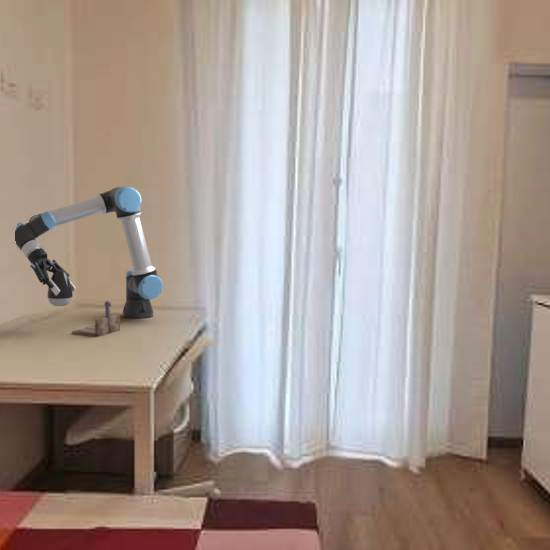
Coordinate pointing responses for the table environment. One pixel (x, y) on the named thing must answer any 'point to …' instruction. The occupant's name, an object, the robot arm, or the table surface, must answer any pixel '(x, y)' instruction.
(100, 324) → the stand
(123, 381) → the table surface
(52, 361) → the table surface
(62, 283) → the pump dispenser
